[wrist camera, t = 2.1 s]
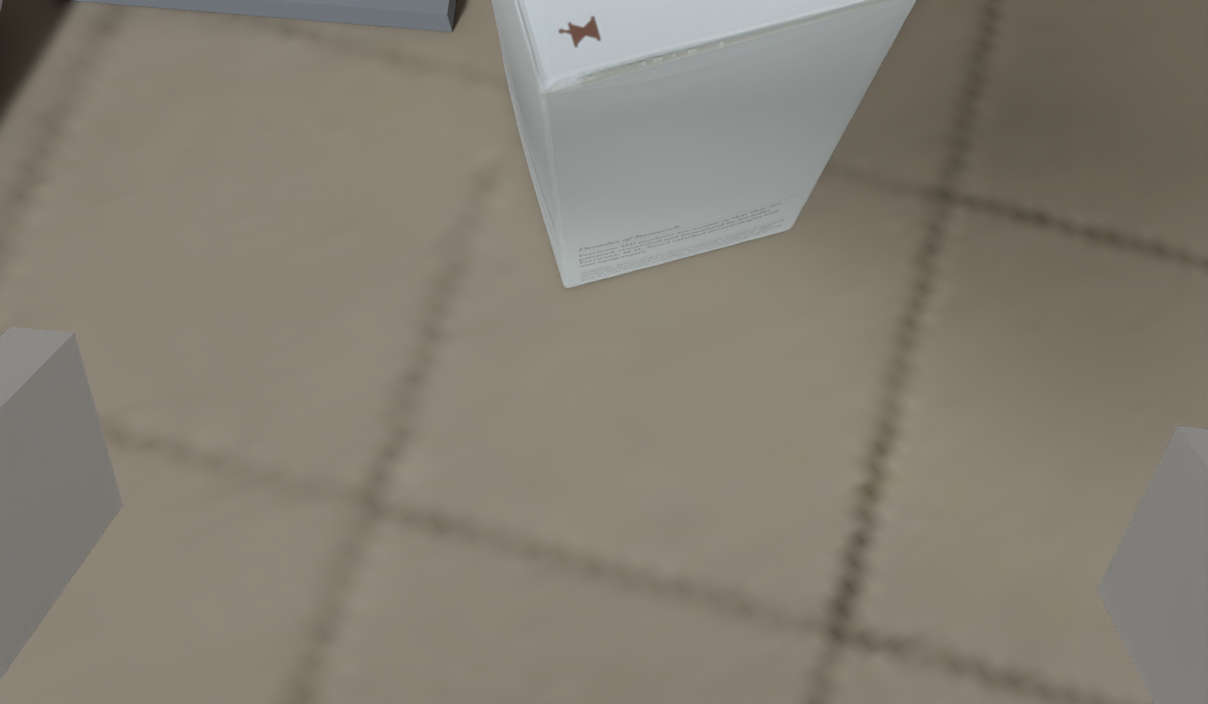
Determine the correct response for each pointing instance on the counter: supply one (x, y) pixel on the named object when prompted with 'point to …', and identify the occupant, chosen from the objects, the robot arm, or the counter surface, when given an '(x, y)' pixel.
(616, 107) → the supplement box
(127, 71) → the counter surface
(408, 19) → the rubber mat
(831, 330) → the counter surface
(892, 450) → the counter surface
